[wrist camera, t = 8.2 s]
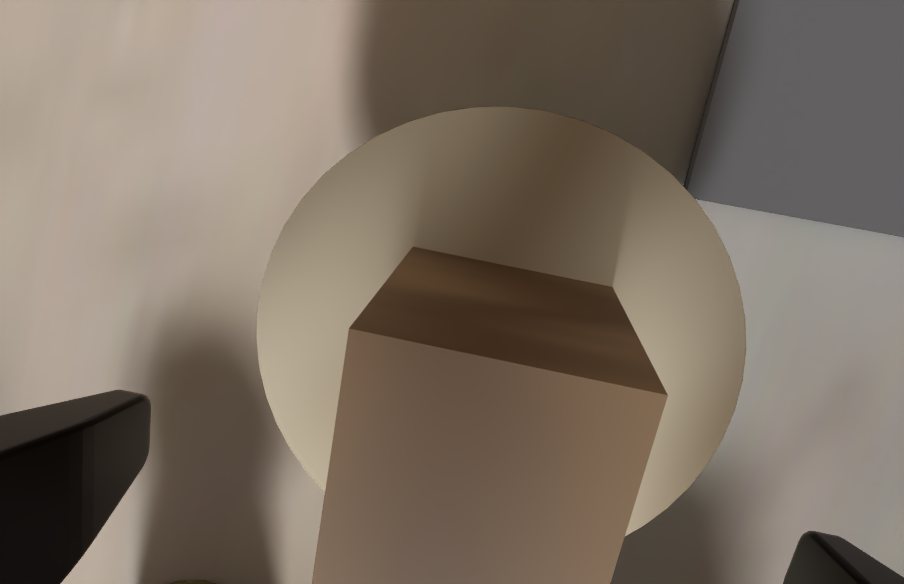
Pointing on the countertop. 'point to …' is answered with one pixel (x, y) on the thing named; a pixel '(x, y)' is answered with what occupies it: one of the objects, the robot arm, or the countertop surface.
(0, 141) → the countertop surface
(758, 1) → the rubber mat
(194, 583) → the cork
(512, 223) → the wooden lid
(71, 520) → the robot arm
